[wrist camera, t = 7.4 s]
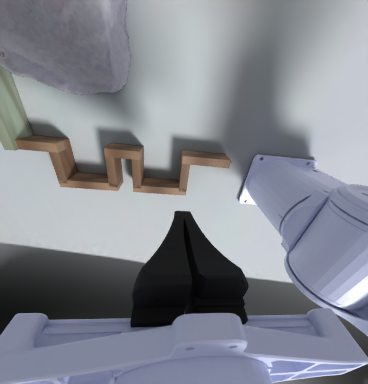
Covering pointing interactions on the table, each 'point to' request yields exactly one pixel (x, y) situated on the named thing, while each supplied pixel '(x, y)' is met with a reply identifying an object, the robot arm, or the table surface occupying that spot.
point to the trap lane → (64, 160)
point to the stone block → (66, 43)
